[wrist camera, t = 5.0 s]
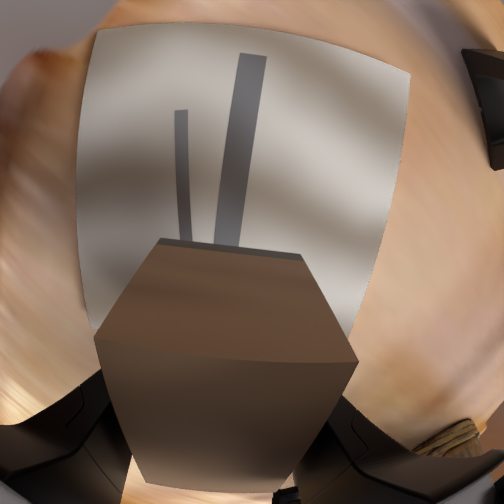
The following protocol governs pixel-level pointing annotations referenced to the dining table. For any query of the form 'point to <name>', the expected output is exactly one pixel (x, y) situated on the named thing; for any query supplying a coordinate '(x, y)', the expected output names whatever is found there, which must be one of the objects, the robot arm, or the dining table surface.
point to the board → (235, 153)
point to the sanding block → (222, 365)
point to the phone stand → (489, 97)
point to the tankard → (454, 442)
